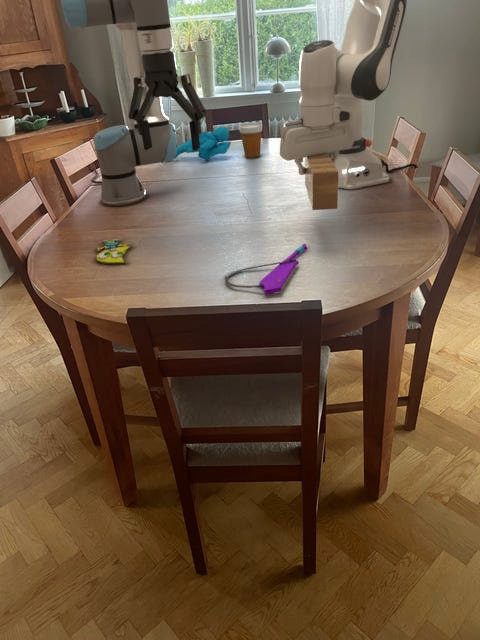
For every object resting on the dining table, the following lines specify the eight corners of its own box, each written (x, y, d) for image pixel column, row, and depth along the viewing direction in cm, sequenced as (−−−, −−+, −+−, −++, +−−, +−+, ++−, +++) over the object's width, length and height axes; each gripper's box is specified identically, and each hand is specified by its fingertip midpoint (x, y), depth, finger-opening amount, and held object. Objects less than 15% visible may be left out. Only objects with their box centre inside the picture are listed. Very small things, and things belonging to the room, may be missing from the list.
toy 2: (168, 140, 212) (230, 120, 202) (177, 163, 217) (238, 145, 207) (155, 150, 198) (221, 129, 188) (165, 175, 203) (230, 156, 193)
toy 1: (135, 237, 135) (125, 260, 122) (135, 240, 135) (125, 263, 123) (99, 239, 135) (85, 263, 122) (100, 242, 135) (86, 266, 123)
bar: (305, 184, 132) (304, 152, 128) (326, 182, 132) (326, 150, 128) (312, 210, 113) (312, 173, 109) (337, 208, 113) (338, 171, 108)
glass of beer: (264, 157, 198) (262, 127, 191) (241, 159, 198) (238, 129, 192) (263, 152, 206) (261, 122, 199) (241, 153, 206) (239, 124, 200)
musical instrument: (224, 303, 104) (316, 286, 101) (222, 294, 103) (315, 277, 100) (230, 261, 125) (306, 246, 122) (228, 253, 124) (305, 239, 121)
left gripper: (101, 56, 109) (121, 151, 121) (200, 50, 101) (211, 153, 112) (120, 53, 115) (137, 144, 127) (214, 46, 107) (223, 145, 118)
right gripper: (285, 124, 115) (287, 181, 122) (358, 111, 121) (355, 167, 128) (274, 120, 120) (276, 175, 127) (344, 108, 126) (342, 162, 133)
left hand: (172, 149), depth 120 cm, fingers open, 13 cm apart
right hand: (316, 171), depth 128 cm, fingers closed on bar, 7 cm apart
